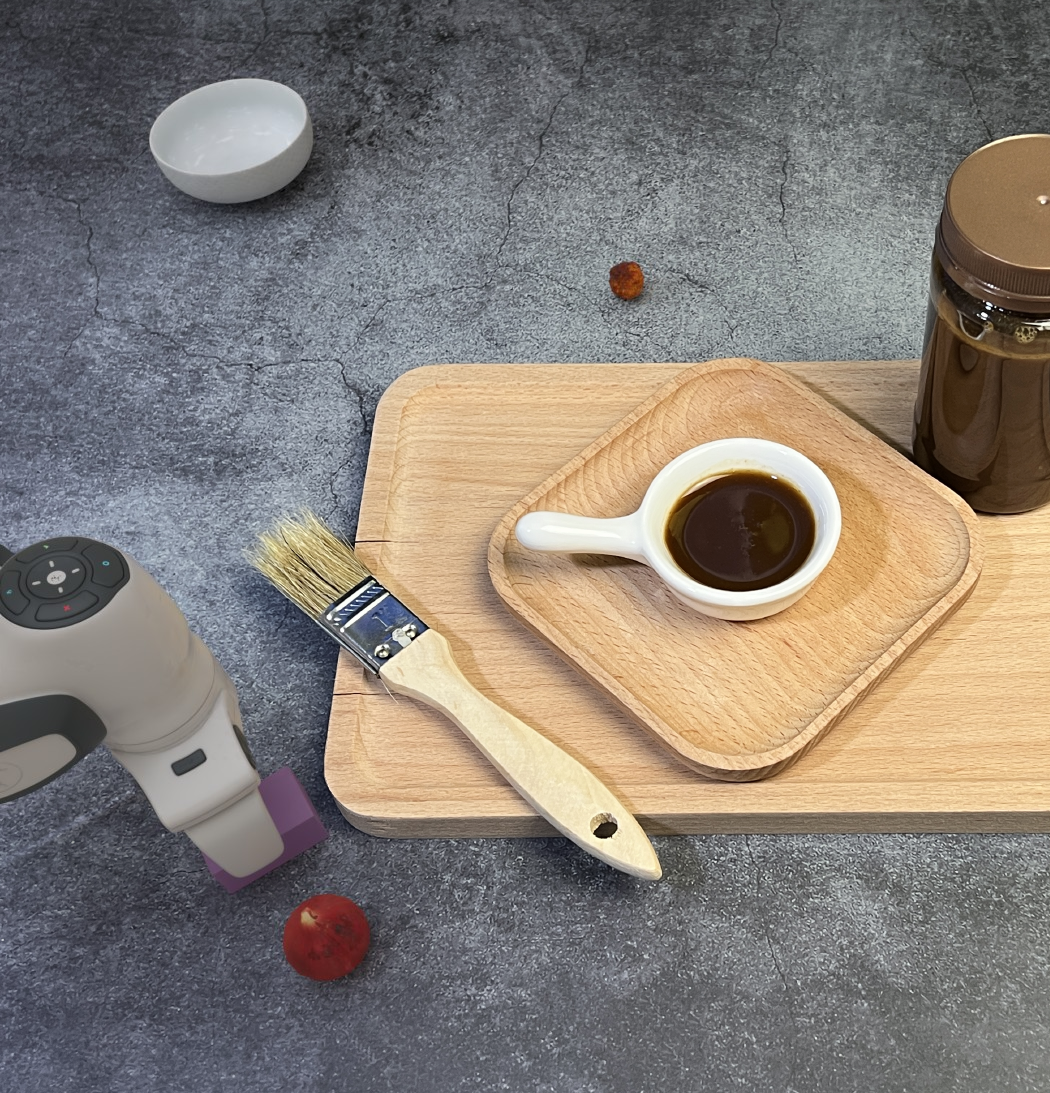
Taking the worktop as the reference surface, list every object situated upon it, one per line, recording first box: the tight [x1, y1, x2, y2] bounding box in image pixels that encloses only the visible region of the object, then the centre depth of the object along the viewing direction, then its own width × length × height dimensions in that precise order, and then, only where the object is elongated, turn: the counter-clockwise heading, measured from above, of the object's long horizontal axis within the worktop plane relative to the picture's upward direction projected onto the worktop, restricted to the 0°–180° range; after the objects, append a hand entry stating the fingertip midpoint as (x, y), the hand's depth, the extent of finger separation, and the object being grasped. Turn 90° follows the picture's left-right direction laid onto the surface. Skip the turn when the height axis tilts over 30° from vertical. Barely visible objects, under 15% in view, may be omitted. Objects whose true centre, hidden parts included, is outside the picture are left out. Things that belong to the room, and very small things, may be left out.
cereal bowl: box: [148, 78, 314, 204], centre depth 141 cm, size 17×17×7 cm
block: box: [200, 765, 330, 895], centre depth 98 cm, size 5×8×4 cm, turn 124°
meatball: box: [608, 261, 645, 300], centre depth 130 cm, size 4×4×4 cm
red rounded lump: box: [282, 893, 371, 982], centre depth 91 cm, size 6×6×8 cm
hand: (237, 789), depth 99 cm, fingers closed
